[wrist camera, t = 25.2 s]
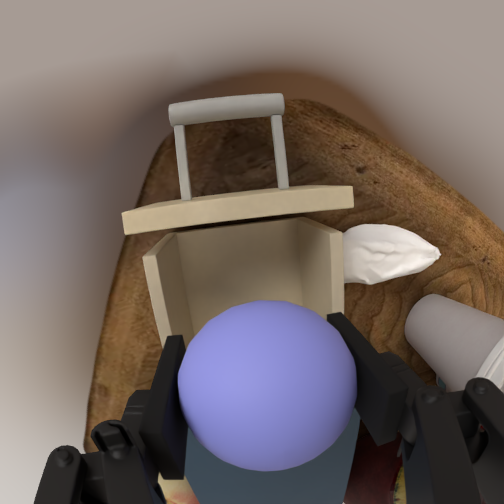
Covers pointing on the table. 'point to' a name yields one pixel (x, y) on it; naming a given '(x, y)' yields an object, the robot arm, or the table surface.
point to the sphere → (267, 385)
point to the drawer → (239, 235)
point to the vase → (377, 473)
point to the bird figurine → (384, 253)
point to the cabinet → (273, 475)
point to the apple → (177, 491)
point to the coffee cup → (457, 341)
